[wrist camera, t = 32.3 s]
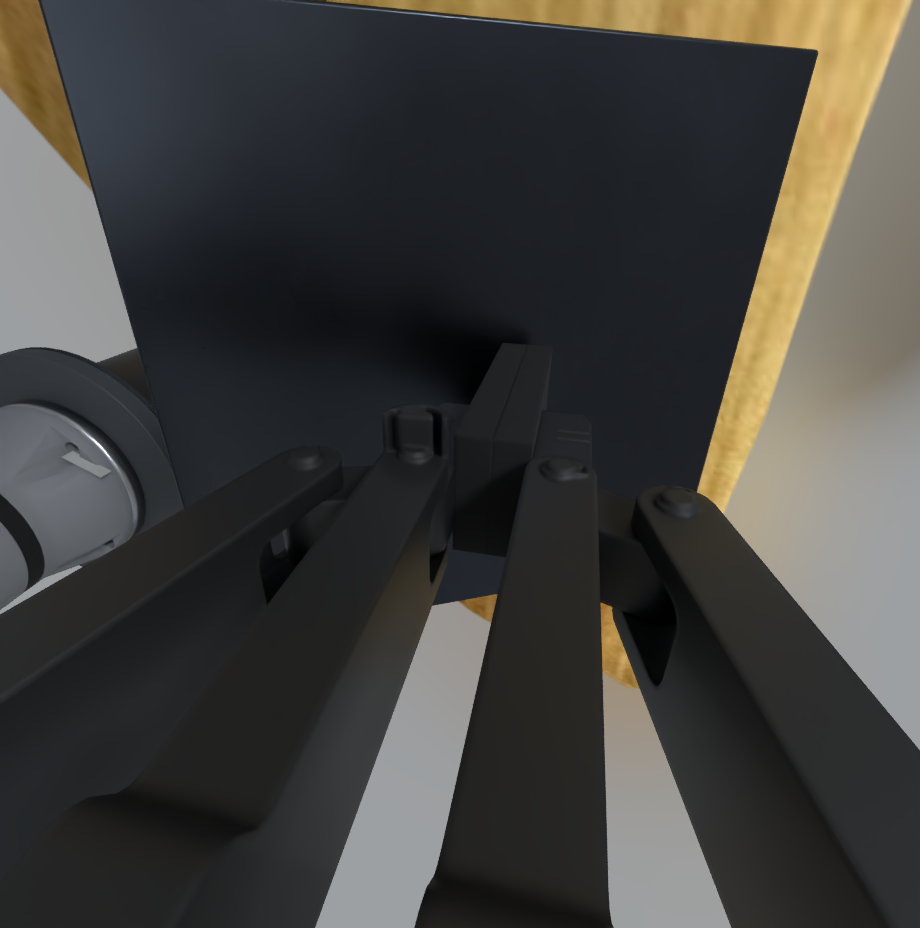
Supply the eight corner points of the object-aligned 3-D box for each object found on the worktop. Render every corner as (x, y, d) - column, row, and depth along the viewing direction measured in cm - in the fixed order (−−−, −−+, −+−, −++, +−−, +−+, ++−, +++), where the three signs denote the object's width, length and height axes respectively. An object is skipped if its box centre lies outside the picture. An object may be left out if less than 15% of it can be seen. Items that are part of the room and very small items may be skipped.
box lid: (223, 628, 19) (221, 645, 18) (45, -17, 10) (28, -30, 10) (667, 550, 23) (678, 562, 22) (796, 54, 15) (821, 49, 14)
